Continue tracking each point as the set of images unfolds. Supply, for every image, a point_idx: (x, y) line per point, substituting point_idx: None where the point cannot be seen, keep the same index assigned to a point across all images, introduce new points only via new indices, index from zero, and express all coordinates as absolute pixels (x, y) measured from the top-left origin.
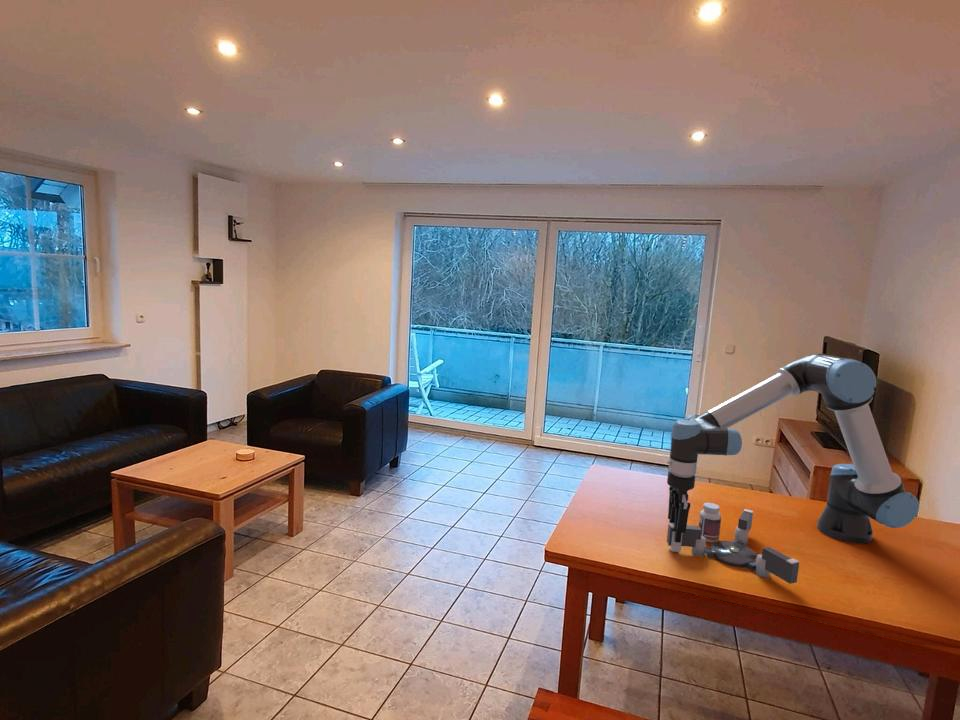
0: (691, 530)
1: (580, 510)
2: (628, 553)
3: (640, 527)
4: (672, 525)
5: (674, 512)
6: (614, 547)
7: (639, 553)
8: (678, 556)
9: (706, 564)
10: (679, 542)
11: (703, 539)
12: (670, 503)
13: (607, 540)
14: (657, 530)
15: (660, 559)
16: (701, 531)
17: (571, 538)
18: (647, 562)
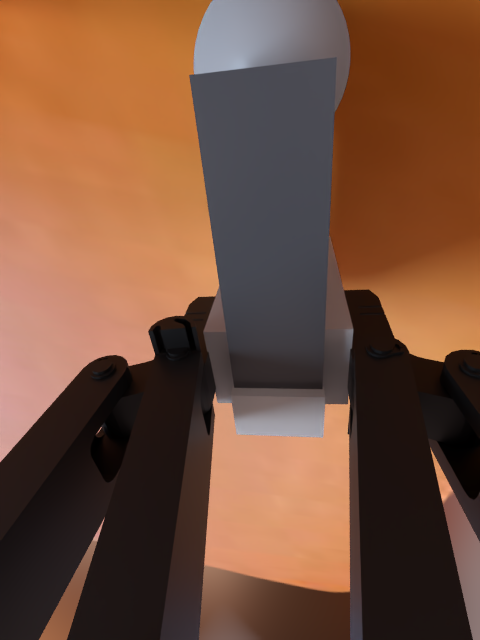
0: (325, 228)
1: None
2: (345, 453)
3: (51, 371)
4: (294, 423)
5: (199, 526)
6: (299, 483)
7: (338, 419)
8: (347, 242)
9: (472, 27)
10: (367, 296)
11: (314, 19)
12: (43, 622)
13: (244, 491)
14: (34, 299)
15: None
16: (334, 64)
17: (262, 559)
18: None
